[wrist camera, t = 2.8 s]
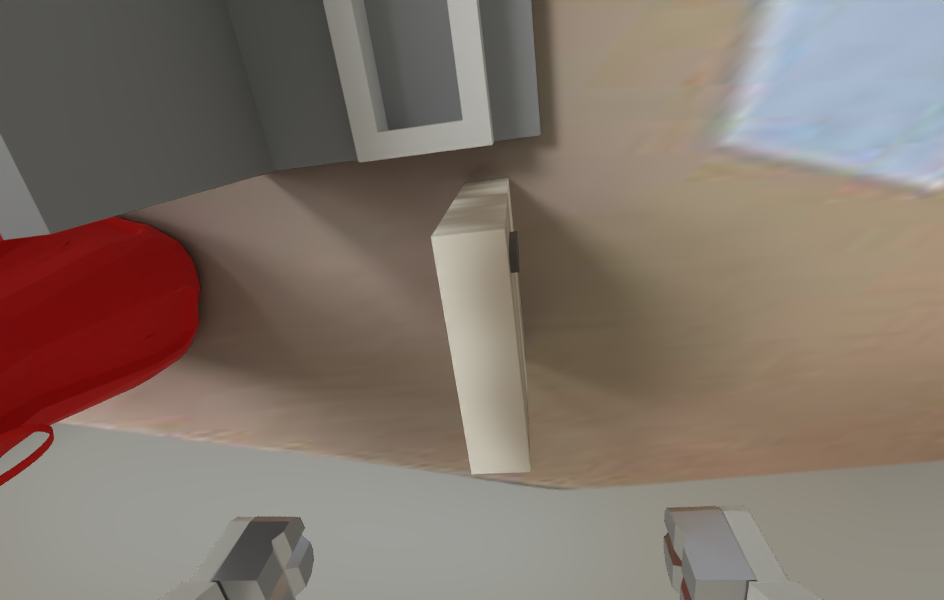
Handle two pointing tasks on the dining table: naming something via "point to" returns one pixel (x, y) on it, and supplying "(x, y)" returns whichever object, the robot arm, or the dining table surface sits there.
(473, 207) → the door panel
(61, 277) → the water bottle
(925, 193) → the dining table surface
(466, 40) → the grey tablet stand
